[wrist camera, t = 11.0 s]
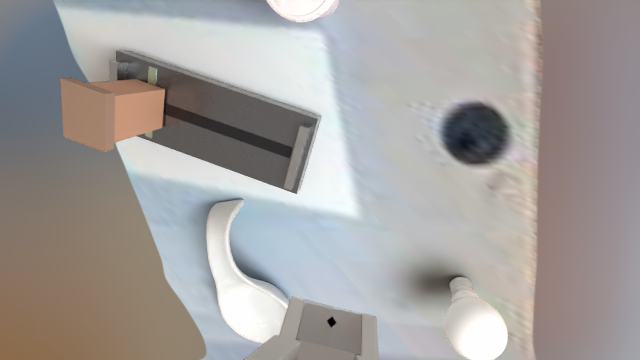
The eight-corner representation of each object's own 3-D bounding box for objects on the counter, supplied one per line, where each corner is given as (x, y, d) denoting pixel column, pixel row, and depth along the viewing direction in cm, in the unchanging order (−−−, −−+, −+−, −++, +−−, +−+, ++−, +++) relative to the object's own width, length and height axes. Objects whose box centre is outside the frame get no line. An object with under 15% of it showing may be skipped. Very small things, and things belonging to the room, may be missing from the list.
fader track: (321, 116, 37) (315, 121, 34) (300, 188, 41) (293, 198, 38) (128, 50, 40) (106, 50, 36) (126, 125, 44) (106, 130, 40)
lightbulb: (453, 253, 40) (474, 318, 30) (496, 278, 40) (531, 351, 30) (424, 286, 43) (435, 355, 33) (465, 308, 43) (488, 385, 33)
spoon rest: (309, 326, 50) (297, 366, 44) (245, 328, 54) (225, 366, 47) (265, 193, 43) (243, 217, 37) (194, 205, 46) (162, 229, 40)
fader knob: (168, 86, 38) (104, 94, 29) (164, 132, 40) (104, 152, 32) (133, 74, 38) (60, 78, 30) (131, 120, 40) (63, 136, 32)
